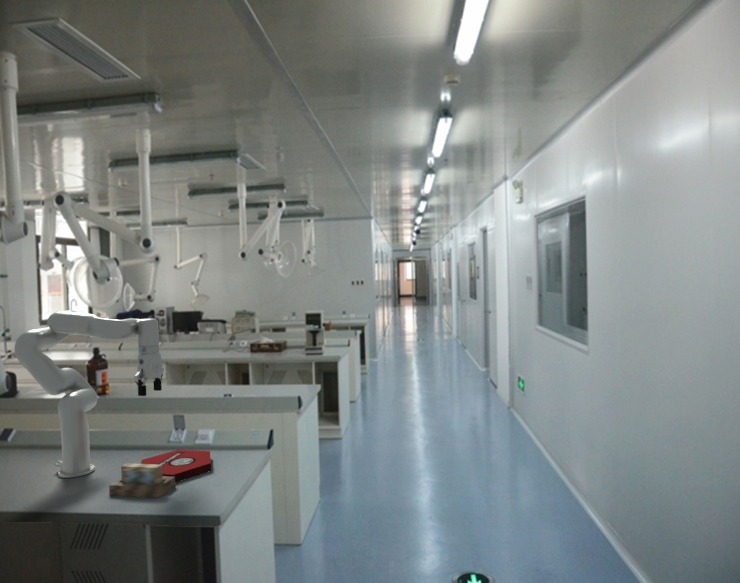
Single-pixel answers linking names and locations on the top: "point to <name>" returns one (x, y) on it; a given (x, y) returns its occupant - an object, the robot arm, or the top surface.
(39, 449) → the top surface
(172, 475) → the plaque
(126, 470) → the tan rectangular slab
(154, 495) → the tan shallow box
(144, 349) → the robot arm
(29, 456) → the top surface
